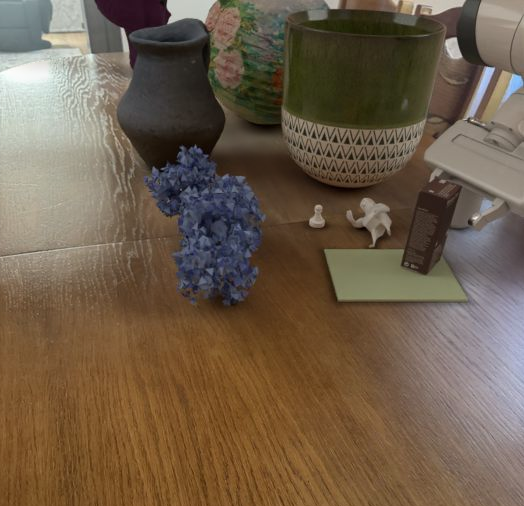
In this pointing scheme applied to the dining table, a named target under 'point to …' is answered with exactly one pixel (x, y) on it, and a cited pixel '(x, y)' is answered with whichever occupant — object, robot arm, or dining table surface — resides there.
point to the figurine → (372, 218)
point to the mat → (388, 278)
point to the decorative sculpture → (209, 225)
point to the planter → (357, 91)
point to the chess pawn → (317, 218)
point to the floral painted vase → (250, 54)
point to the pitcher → (171, 94)
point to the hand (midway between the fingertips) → (448, 213)
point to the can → (465, 208)
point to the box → (430, 225)
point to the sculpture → (134, 17)
